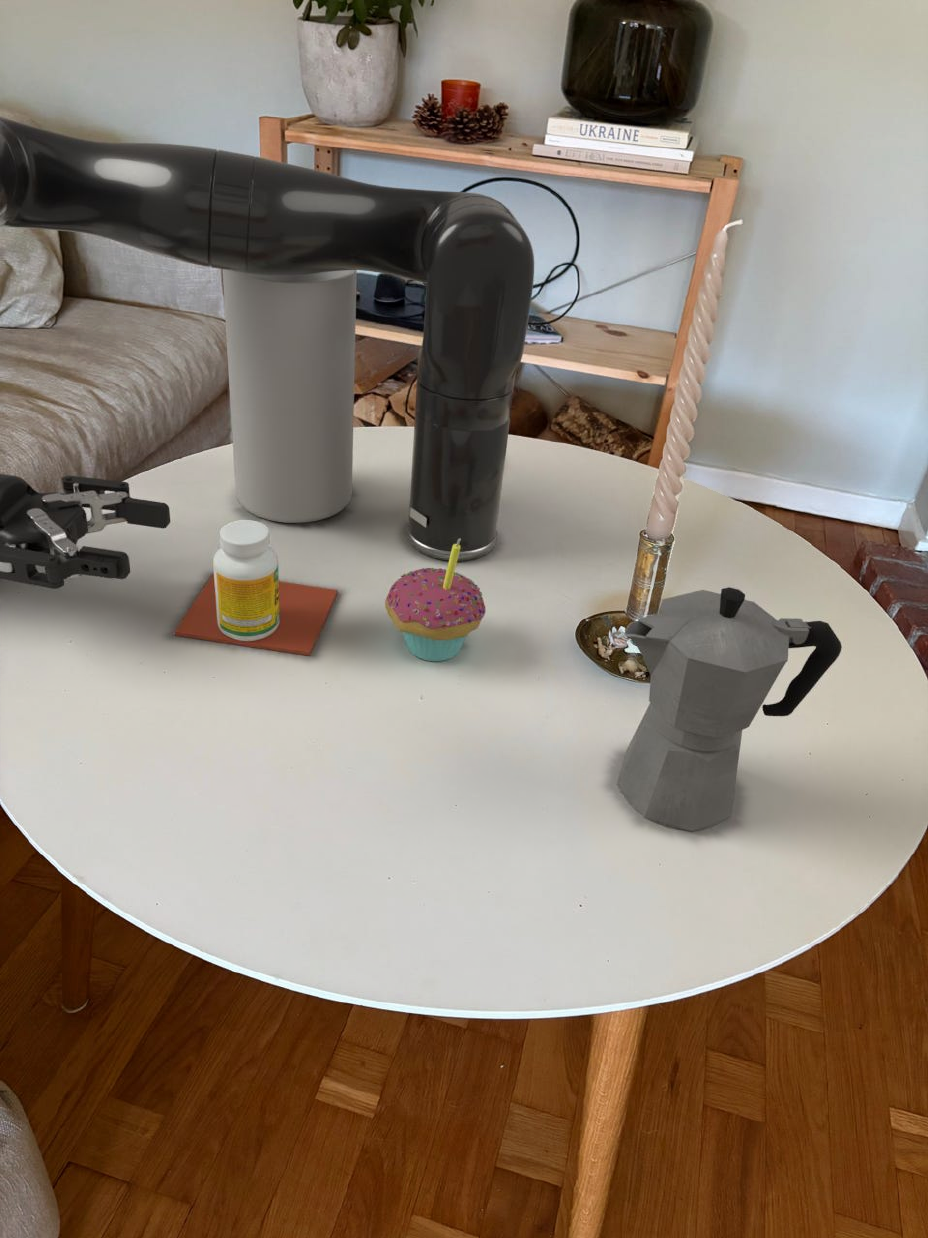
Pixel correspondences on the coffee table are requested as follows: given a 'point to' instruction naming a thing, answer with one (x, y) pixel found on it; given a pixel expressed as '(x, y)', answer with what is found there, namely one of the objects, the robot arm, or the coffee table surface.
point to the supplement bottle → (246, 581)
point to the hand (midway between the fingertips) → (149, 540)
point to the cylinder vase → (291, 391)
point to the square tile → (297, 618)
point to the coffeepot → (709, 699)
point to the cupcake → (435, 609)
